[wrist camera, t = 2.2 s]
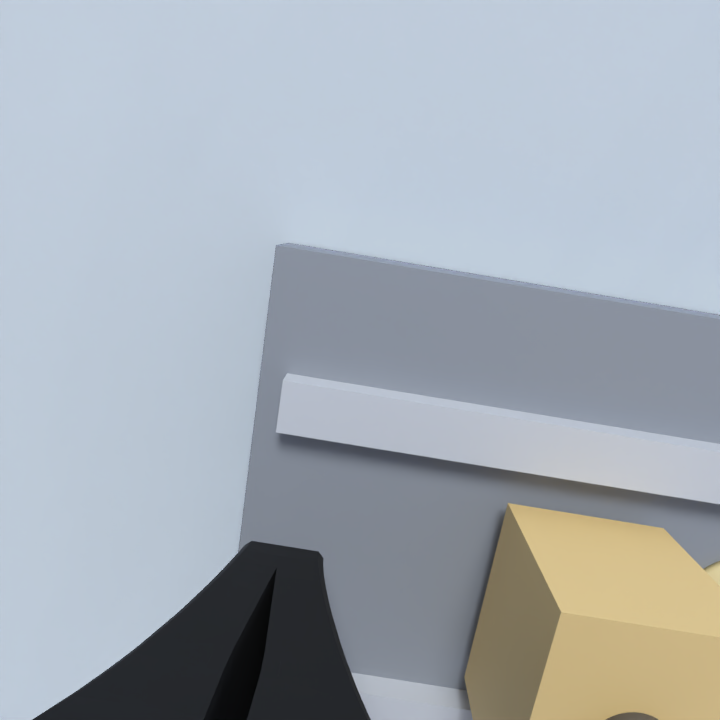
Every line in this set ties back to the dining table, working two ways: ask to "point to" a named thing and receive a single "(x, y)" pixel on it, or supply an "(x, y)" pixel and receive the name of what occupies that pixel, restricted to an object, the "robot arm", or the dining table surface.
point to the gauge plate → (464, 444)
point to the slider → (594, 624)
